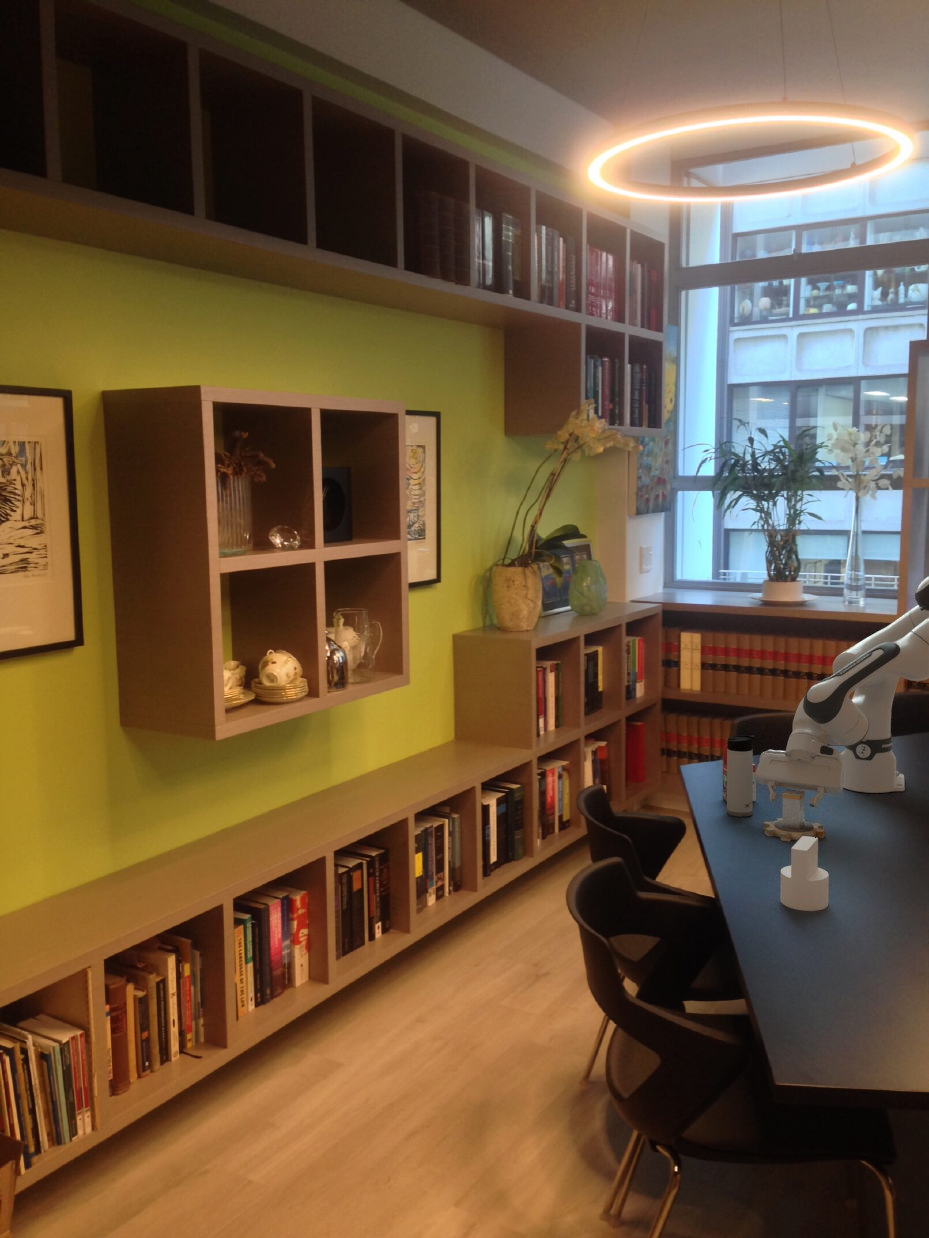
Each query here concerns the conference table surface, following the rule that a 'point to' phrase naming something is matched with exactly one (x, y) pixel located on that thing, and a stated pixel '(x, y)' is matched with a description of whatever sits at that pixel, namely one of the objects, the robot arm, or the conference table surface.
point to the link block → (793, 809)
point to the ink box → (726, 776)
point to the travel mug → (740, 775)
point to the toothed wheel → (793, 830)
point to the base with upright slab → (804, 878)
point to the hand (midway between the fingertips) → (792, 803)
